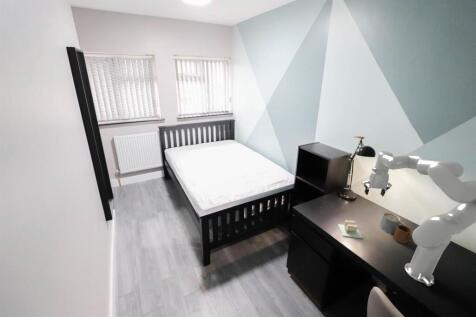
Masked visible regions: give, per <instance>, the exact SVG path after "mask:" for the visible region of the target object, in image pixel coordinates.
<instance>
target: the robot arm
mask: <svg viewBox="0 0 476 317" xmlns="http://www.w3.org/2000/svg"><path fill="white" fill-rule="evenodd" d="M401 169H410V170H416V171H417V173H419V174H420V175H424V176H428V177H429V179H431V181H432V182H433V183H434V184H435V185H436V186H437V187H438V188H439V189H440V190H441V191H442V192H443V193H444V194H445V195H446V196H447V197H448V198H449V199H450V200H452V201H453V202H457V203H459V204H457V205H456V206H454V208H452V209H451V210H449V211H447V212H446V213H442V214H438V215H434V216H431V217H430V218H428V219H426V220H425V221H423V222H422V223H421V224H420V225H419V226H417V227H416V228H415V229H414V230H413V231H412V232H411V234H412V237H411V239H413V241H414V242H413V243H414V244H415V245H416V248H415V250H414V253H413V256H412V258H411V260H410V262H406V263H405V265H404V270H405V271H406V272H405V273H407V274H408V276H410V277H411V278H413V280H415V281H418V282H419V283H423V284H425V285H426V286H428V287H430V286H432V285H434V284H435V277H434V275H433V272H434V271H435V269H436V267H437V264H438V262H439V261H440V258H441V257H442V255H443V253H444V251H445V250H446V248H447V247H448V246H449V244H450V243H451V240H452V236H455V235H458V234H459V235H460V234H461V233H462V232H465V230H467V229H469V227H471V226H473V225H474V224H475V223H476V180H467V181H462V180H461V179H460V177H462V176H463V174H464V173H465V169H464V166H463V165H462V164H461V163H460V162H457V161H454V160H453V161H452V160H445V159H444V160H443V159H436V158H435V159H433V158H426V157H421V156H417V155H416V156H415V155H397V156H396V155H393V153H391V152H389V151H384V150H383V151H379V152H378V155H377V158H376V161H375V166H374V168H371V174H370V176H369V178H368V179H367V180H364V181H362V185H363V187H364V188H365V189H364V194H365V195H367V196H368V195H369V192H370V189H378V190H379V189H380V196H381V197H385V194H386V192H387V191H389V189H390V188H392V186H393V184H392V183H390V182H389V180H390V174H389V171H390V170H393V171H394V170H401Z"/></svg>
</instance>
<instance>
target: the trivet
mask: <svg viewBox="0 0 476 317" xmlns="http://www.w3.org/2000/svg"><path fill="white" fill-rule="evenodd" d="M337 226H338V228H339V231H340V233H341V236H342V237H344V238H345V237H346V238H352V239H353V238H354V239H362V238H363V237H362V235H361V233H360V231H359V229H358V228H357V231H356V234H351V233H346V231H345V229H344V224H343V223H341V224H340V223H337Z"/></svg>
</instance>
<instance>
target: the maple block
mask: <svg viewBox="0 0 476 317" xmlns="http://www.w3.org/2000/svg"><path fill="white" fill-rule="evenodd" d="M343 225H344V229H345V231H346V233H351V234H356V231H357V229H358V225H357V223H356V221H354V220H347V219H346V220H344V224H343Z"/></svg>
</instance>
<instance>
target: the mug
mask: <svg viewBox="0 0 476 317" xmlns="http://www.w3.org/2000/svg"><path fill="white" fill-rule="evenodd" d="M393 234H394V235H393V239H394V240H395V242H398V243H400V244H403V245H404V244H407V243H408V241H409V242H411V243H415V242H414V241H413V238H412V229H411V228H410V227H408V226H406V225H405V226H404V225H402V224H399V225H398V226H397V228H396V231H395V233H393Z"/></svg>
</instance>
